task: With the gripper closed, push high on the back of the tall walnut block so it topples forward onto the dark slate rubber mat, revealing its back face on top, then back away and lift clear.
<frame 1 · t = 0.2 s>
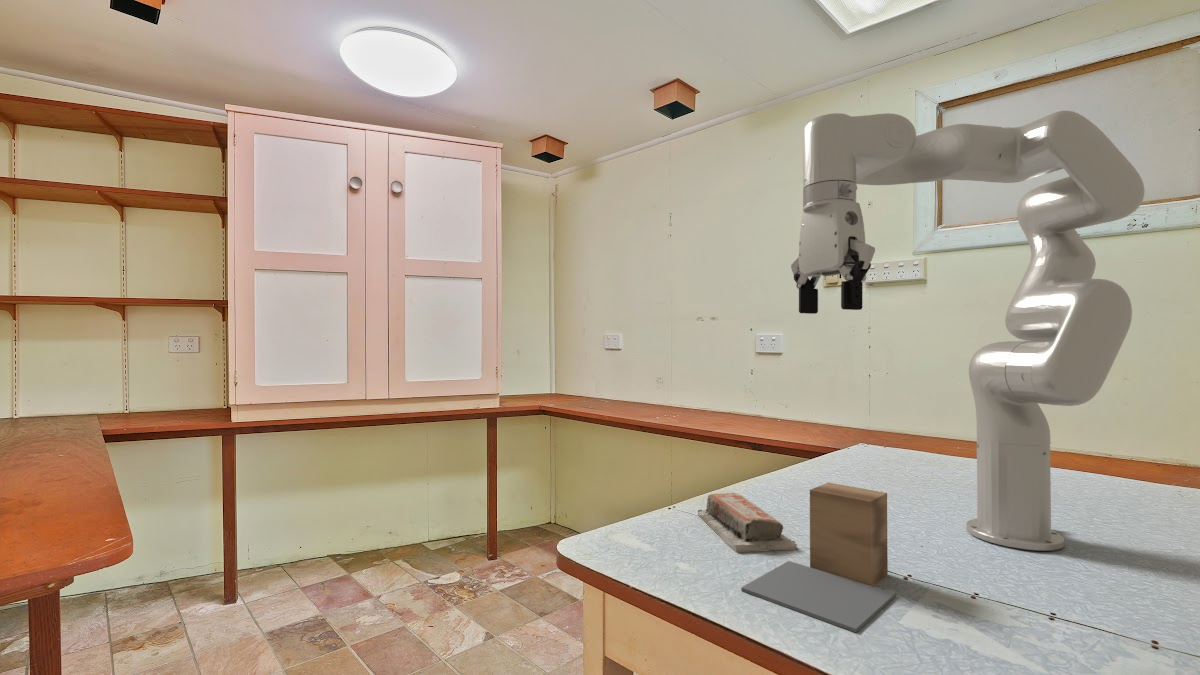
hand: (828, 311, 83), 36 cm above the table, tool pointing down, fingers open, 9 cm apart
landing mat: (817, 593, 68), on the table
packaged product: (742, 535, 91), on the table
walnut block: (848, 572, 75), on the table
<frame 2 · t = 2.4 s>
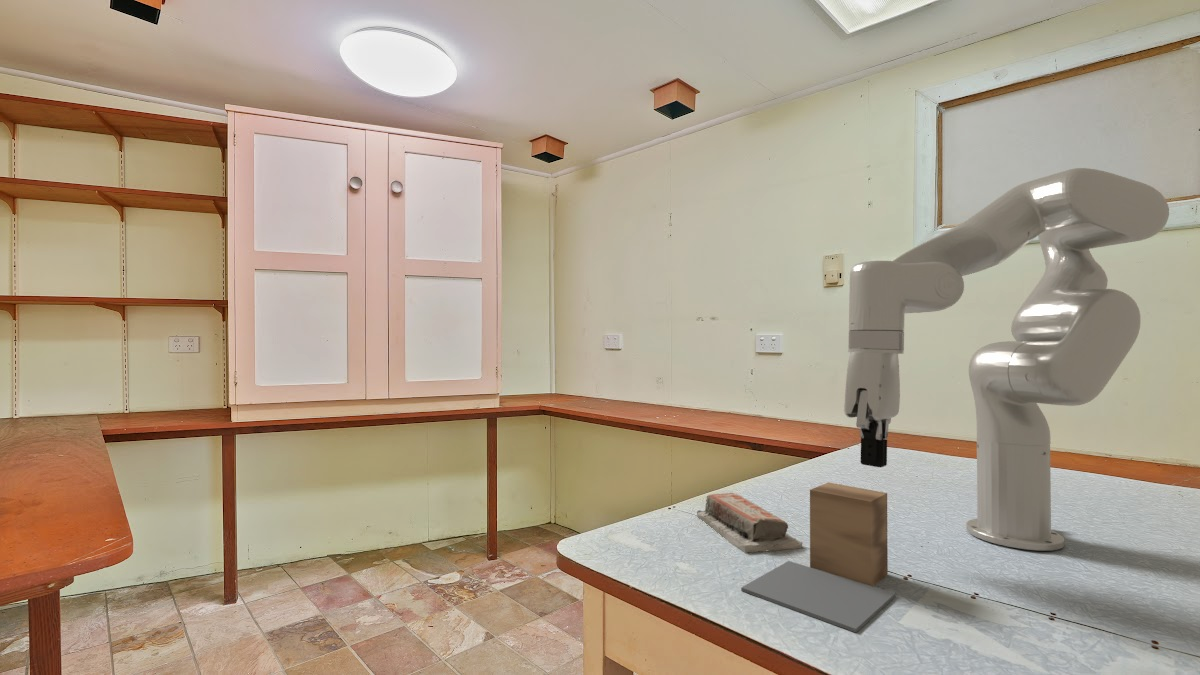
hand: (873, 465, 82), 13 cm above the table, tool pointing down, fingers closed
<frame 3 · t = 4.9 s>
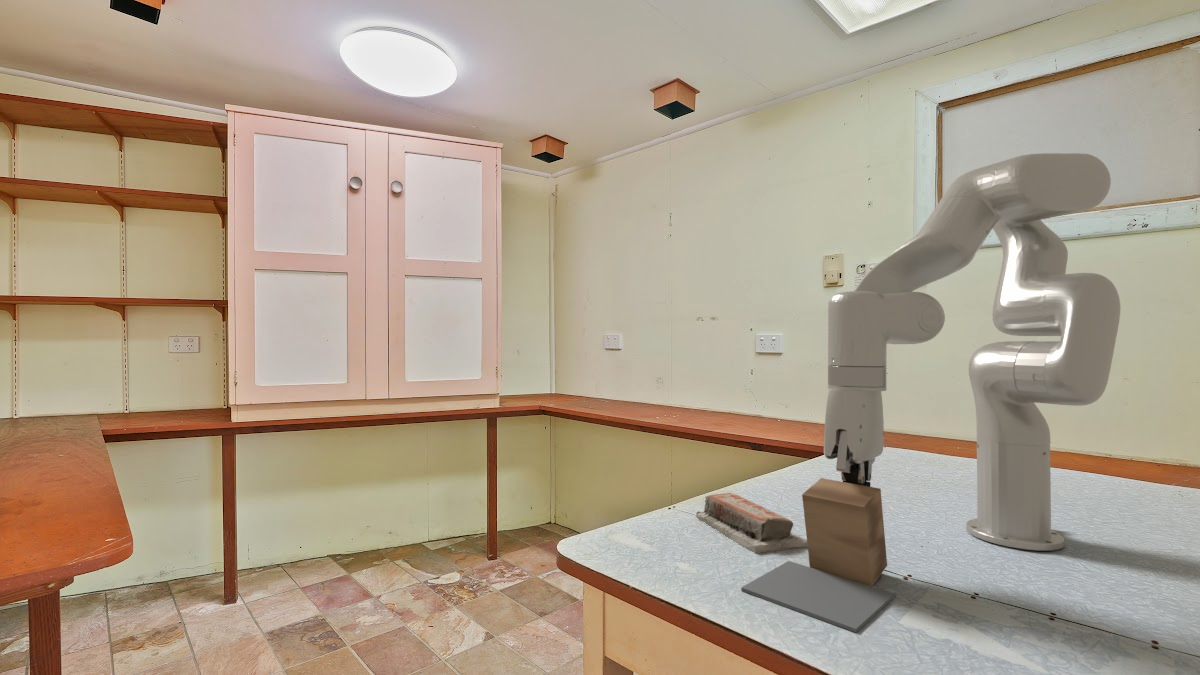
hand: (856, 509, 77), 8 cm above the table, tool pointing down, fingers closed
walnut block: (848, 567, 75), point 1 cm above the table, tilted 12°
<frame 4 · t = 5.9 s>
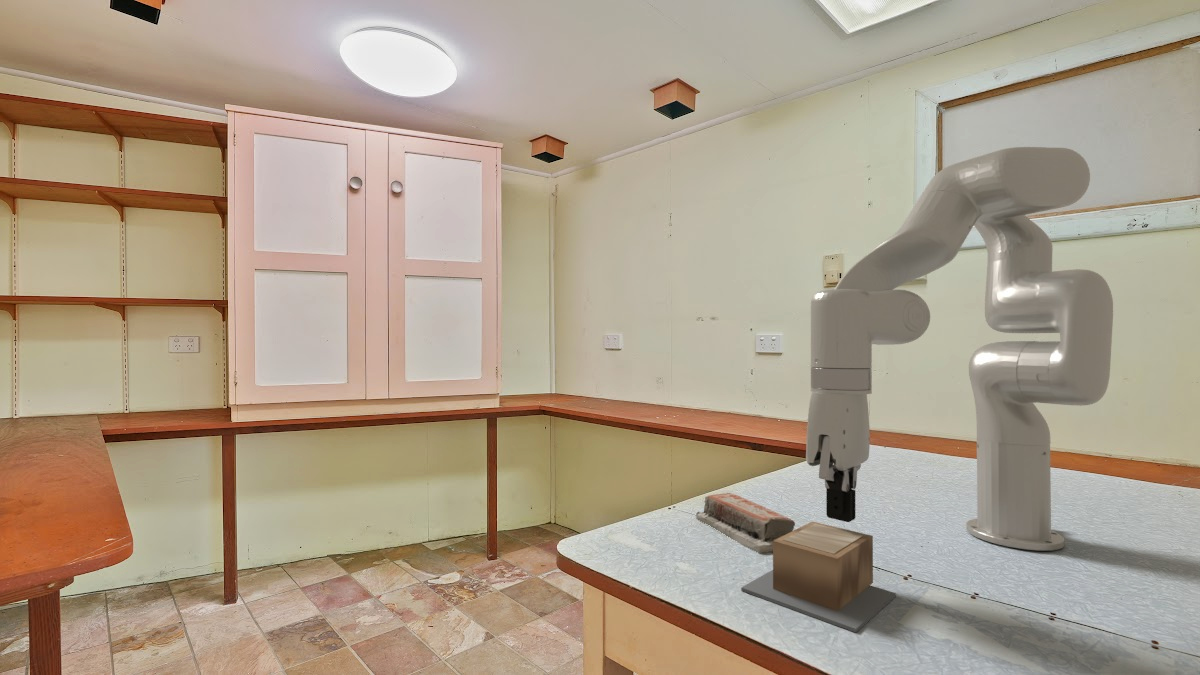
hand: (840, 518, 73), 8 cm above the table, tool pointing down, fingers closed
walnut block: (841, 550, 73), point 3 cm above the table, tilted 90°, touching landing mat
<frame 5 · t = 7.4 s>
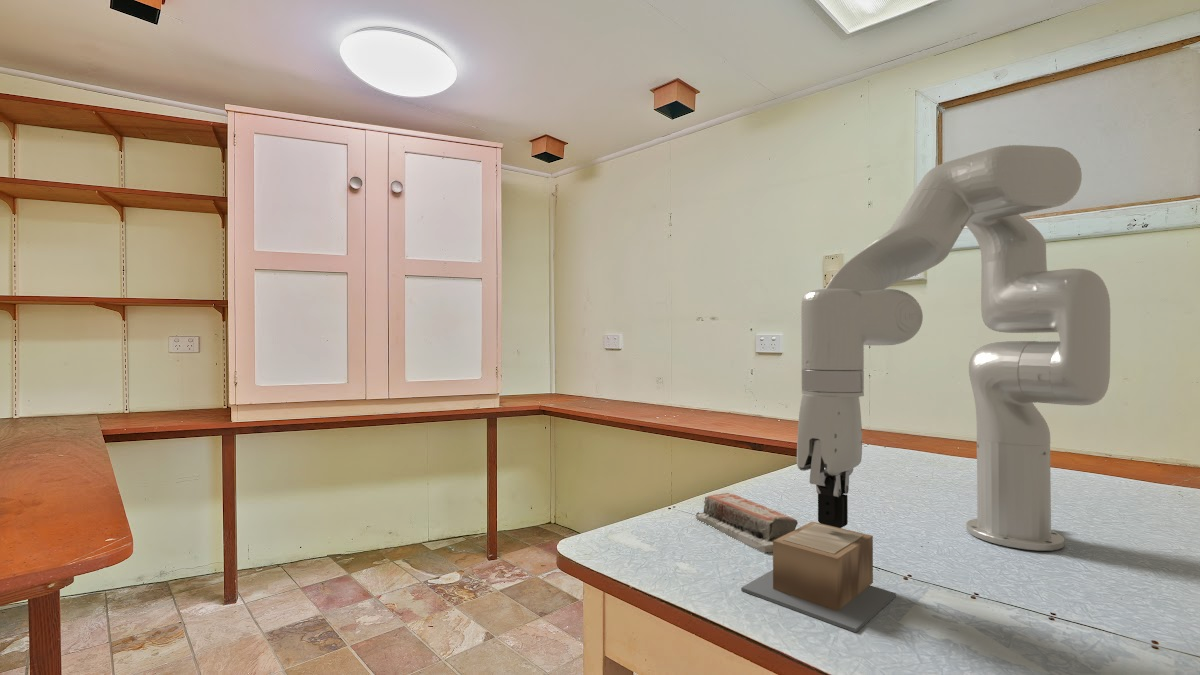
hand: (832, 524, 71), 8 cm above the table, tool pointing down, fingers closed
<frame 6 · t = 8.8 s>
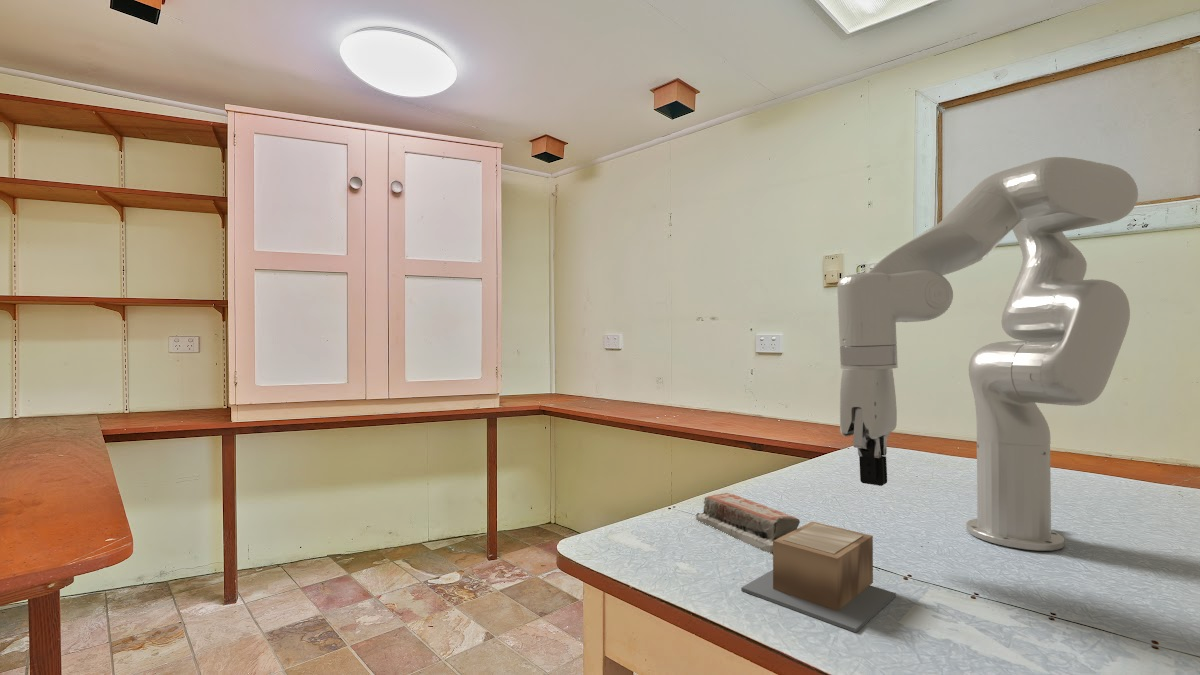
hand: (873, 483, 80), 11 cm above the table, tool pointing down, fingers closed
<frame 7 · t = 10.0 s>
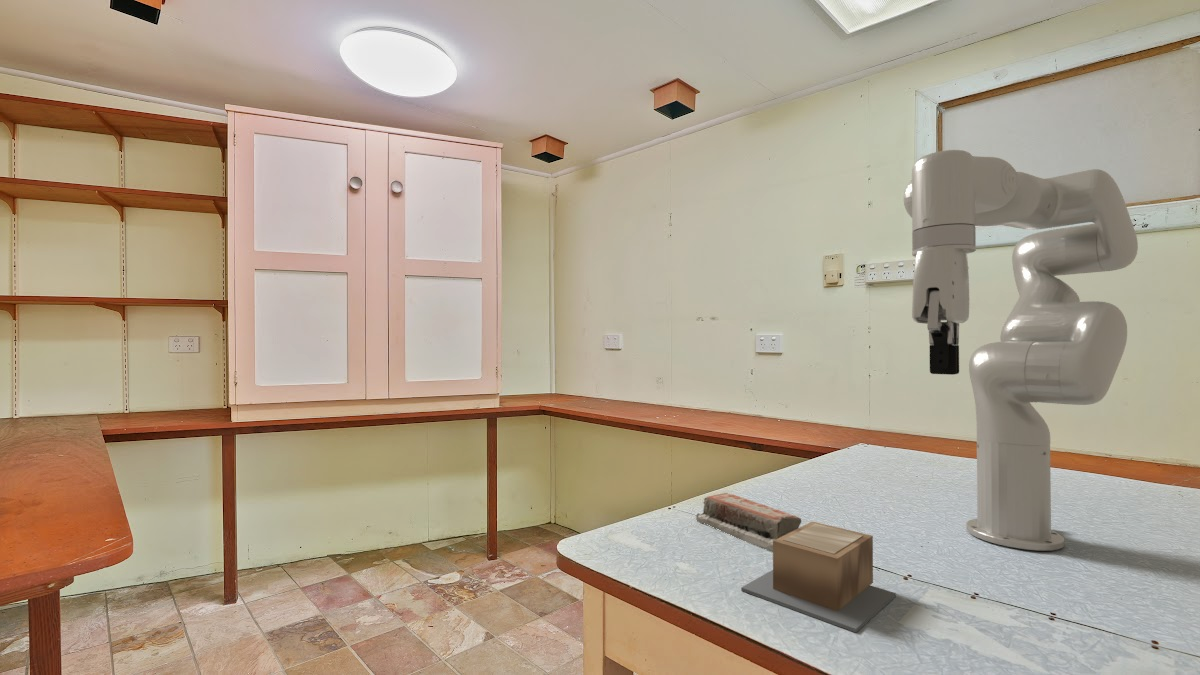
hand: (944, 373, 76), 27 cm above the table, tool pointing down, fingers closed
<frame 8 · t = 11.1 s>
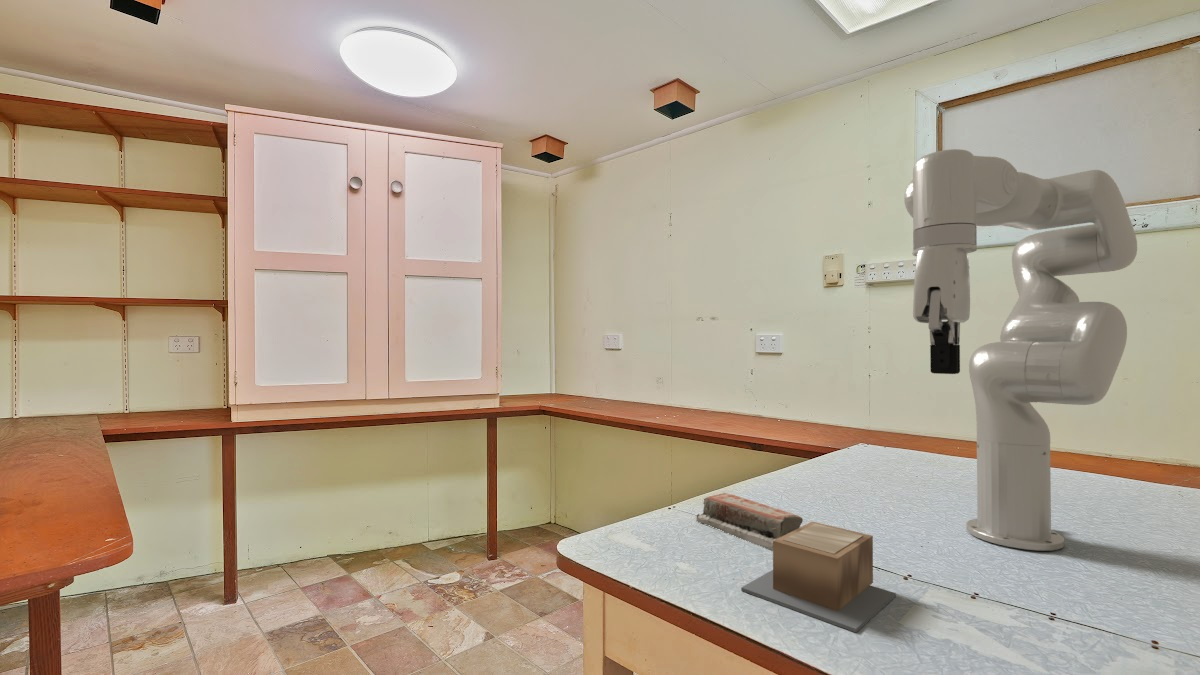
hand: (945, 373, 76), 27 cm above the table, tool pointing down, fingers closed
at the end: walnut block tilted 90°; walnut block touching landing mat; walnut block inside the target area (3.3 cm from its centre), point 3.4 cm above the table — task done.
